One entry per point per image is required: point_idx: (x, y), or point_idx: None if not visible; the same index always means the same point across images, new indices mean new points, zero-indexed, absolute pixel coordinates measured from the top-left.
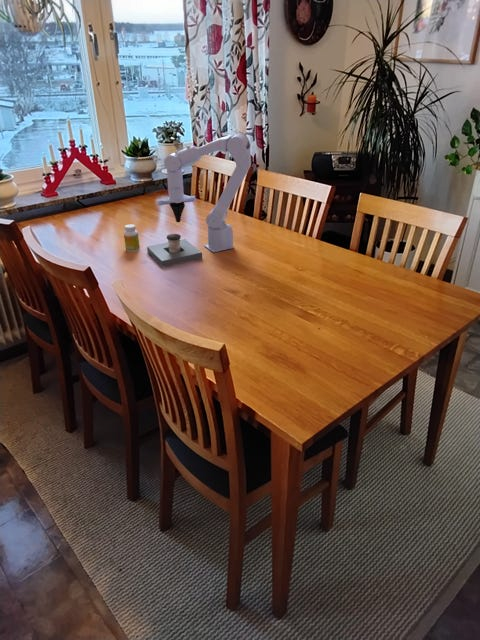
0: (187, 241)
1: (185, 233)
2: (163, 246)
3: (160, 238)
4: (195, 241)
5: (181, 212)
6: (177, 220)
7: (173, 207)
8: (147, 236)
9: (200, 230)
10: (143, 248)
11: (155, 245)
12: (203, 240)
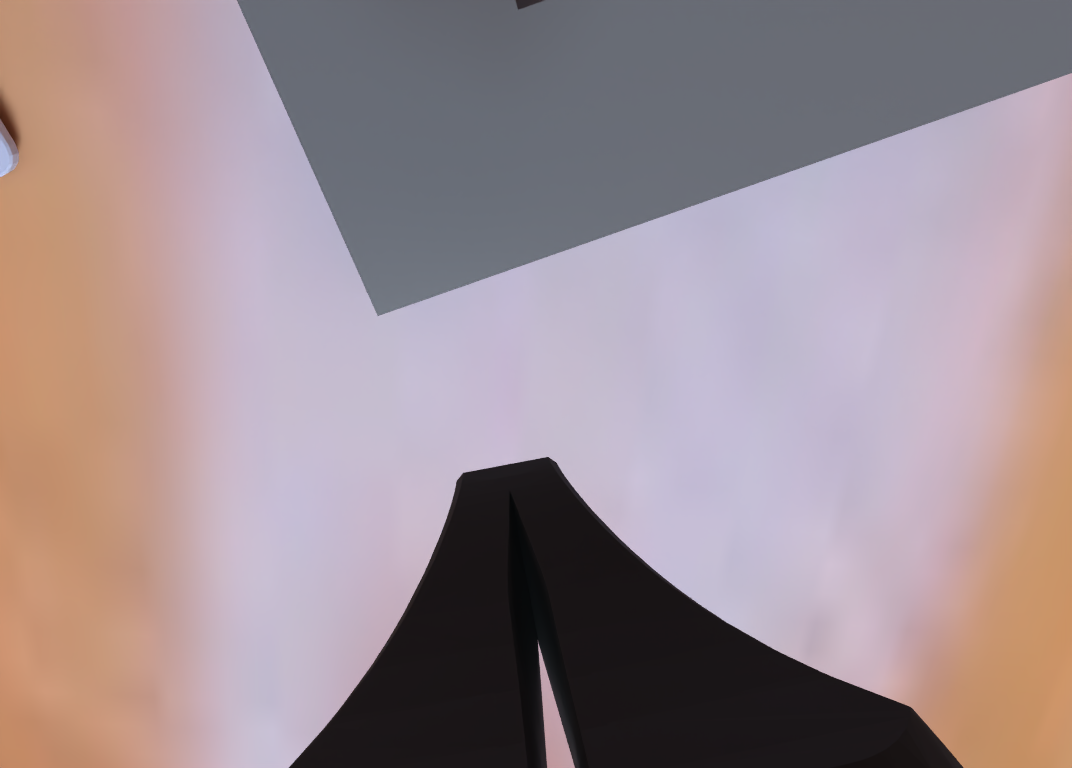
0: (330, 185)
1: None
2: (815, 1)
3: (720, 558)
4: (213, 400)
5: (402, 653)
6: (545, 478)
7: (885, 747)
8: (863, 629)
9: (161, 759)
10: (1022, 241)
11: (940, 88)
12: (77, 423)
